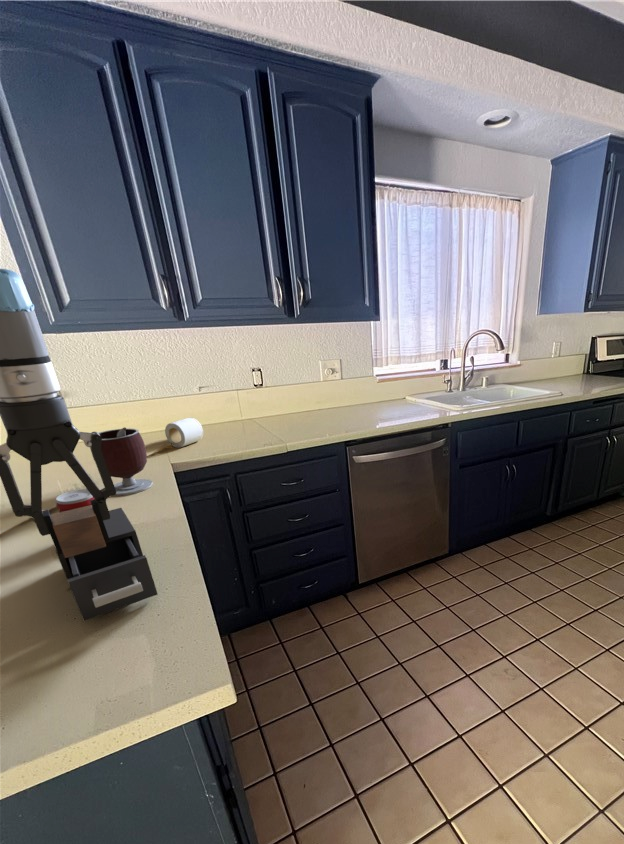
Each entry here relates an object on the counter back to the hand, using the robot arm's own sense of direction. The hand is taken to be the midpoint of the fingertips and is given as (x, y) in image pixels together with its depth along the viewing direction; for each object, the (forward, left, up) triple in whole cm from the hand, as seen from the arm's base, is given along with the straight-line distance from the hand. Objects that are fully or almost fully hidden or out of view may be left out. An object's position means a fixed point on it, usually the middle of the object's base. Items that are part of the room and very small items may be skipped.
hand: (83, 544), depth 68 cm
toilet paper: (-42, +110, -15) cm, 119 cm away
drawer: (-2, +5, -14) cm, 15 cm away
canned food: (-25, +29, -15) cm, 41 cm away
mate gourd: (-35, +60, -15) cm, 71 cm away
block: (0, 0, 0) cm, 0 cm away
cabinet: (-11, +15, -15) cm, 24 cm away
